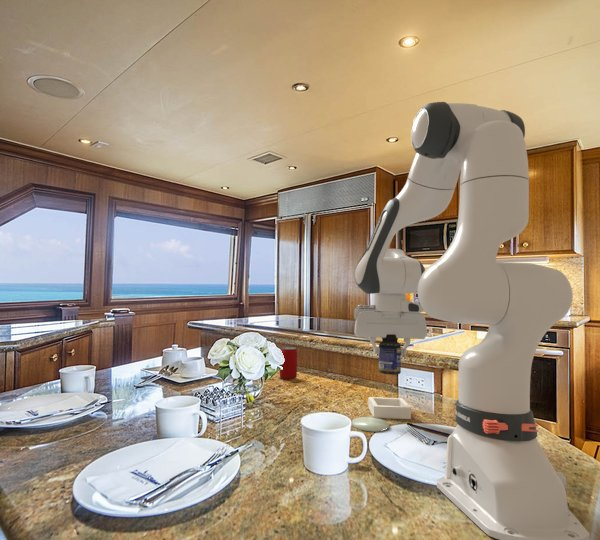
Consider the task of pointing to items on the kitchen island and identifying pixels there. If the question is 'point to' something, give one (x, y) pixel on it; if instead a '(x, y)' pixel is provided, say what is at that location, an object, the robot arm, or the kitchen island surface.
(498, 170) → the robot arm
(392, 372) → the pill bottle
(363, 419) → the coaster
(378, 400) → the pocket
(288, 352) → the beverage can
